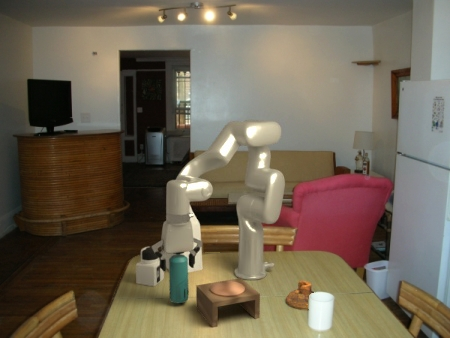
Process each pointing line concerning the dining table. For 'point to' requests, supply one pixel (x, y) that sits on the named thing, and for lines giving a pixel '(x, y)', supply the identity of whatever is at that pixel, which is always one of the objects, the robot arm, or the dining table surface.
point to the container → (149, 268)
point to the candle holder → (300, 295)
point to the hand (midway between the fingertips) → (177, 268)
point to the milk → (199, 255)
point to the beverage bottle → (178, 278)
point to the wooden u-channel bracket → (226, 298)
